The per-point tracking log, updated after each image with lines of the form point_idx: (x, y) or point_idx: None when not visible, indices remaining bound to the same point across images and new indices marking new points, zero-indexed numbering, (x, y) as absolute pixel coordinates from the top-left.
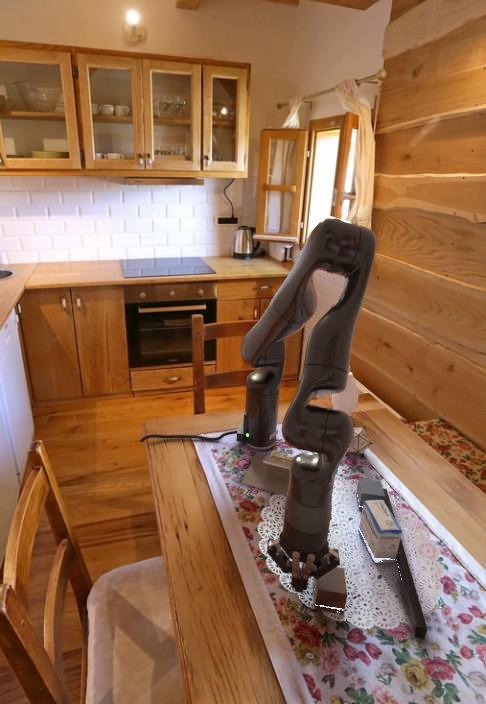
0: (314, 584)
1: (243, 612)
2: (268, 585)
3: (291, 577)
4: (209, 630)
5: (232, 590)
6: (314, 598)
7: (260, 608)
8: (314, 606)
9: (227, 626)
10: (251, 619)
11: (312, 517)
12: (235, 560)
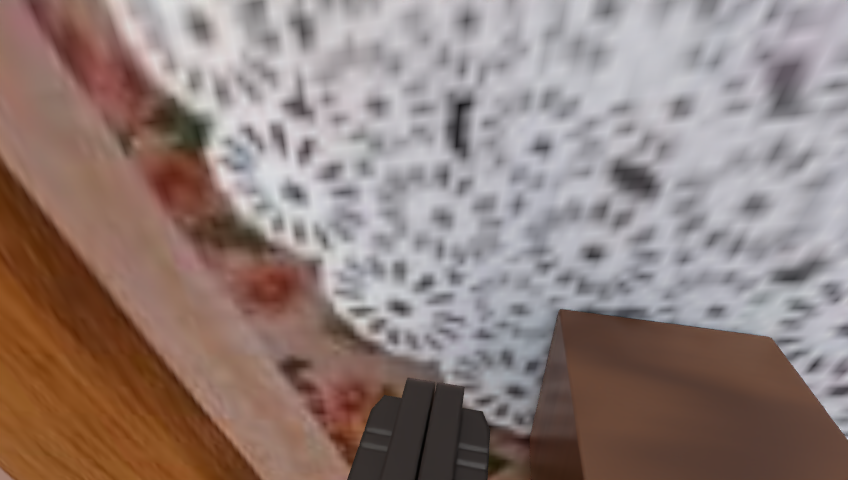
0: (553, 397)
1: (182, 432)
2: (264, 324)
3: (366, 424)
4: (89, 475)
5: (94, 349)
6: (537, 425)
7: (250, 422)
8: (530, 439)
9: (143, 469)
10: (224, 455)
11: None
12: (16, 176)
